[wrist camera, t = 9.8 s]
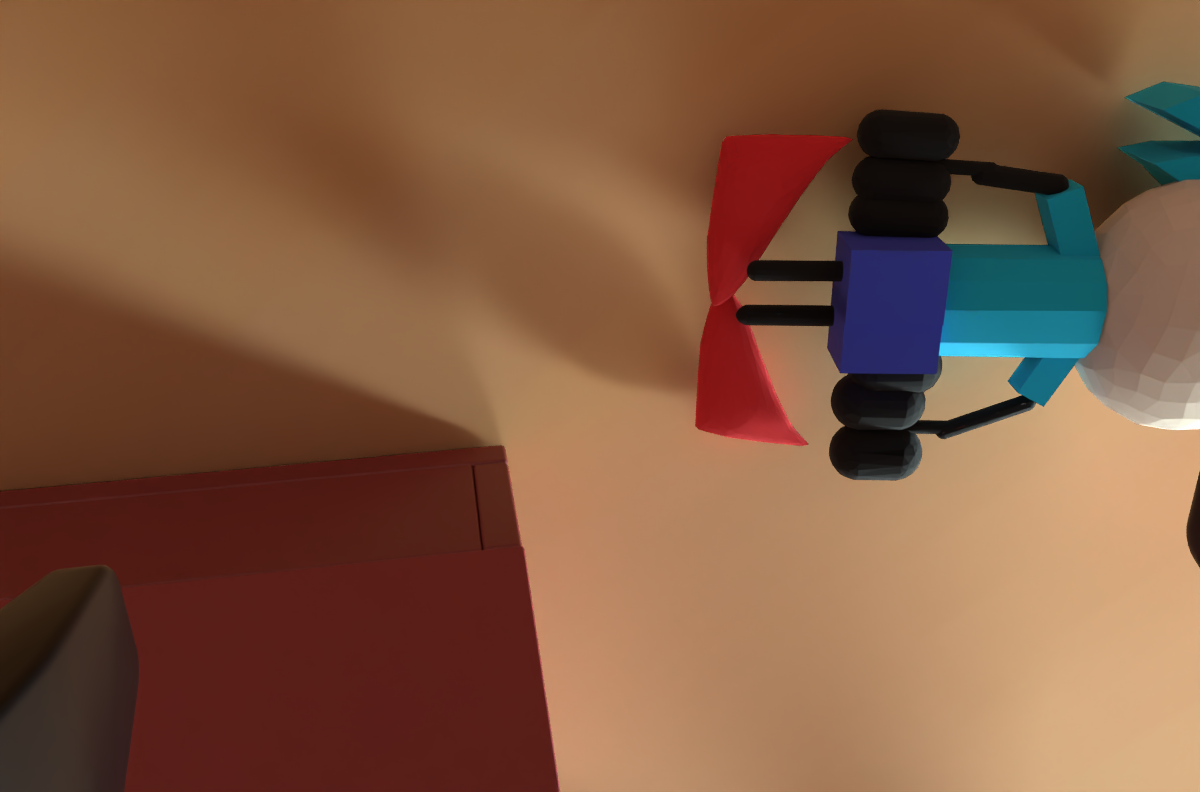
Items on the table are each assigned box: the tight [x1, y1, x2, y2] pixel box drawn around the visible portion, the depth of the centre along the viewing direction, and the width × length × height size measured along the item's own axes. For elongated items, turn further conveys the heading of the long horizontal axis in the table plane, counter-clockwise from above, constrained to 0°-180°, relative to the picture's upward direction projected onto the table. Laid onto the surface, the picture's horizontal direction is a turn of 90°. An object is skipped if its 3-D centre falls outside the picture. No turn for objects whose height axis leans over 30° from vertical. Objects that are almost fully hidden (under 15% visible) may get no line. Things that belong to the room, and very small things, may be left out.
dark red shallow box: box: [0, 445, 522, 600], centre depth 23 cm, size 11×16×4 cm, turn 91°
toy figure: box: [695, 82, 1200, 480], centre depth 22 cm, size 8×5×15 cm
